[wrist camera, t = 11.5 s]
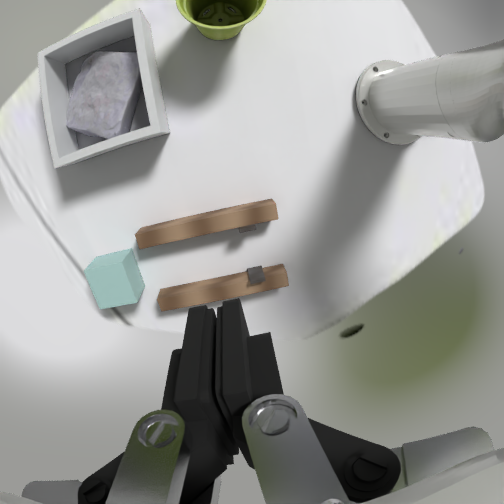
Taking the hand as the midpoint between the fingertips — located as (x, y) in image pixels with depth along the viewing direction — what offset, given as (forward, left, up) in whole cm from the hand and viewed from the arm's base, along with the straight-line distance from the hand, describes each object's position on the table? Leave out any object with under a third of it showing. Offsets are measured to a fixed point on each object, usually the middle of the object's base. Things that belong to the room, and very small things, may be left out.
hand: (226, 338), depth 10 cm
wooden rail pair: (+3, +9, -31) cm, 32 cm away
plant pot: (-4, -22, -31) cm, 38 cm away
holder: (+12, -16, -31) cm, 37 cm away
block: (+17, +8, -31) cm, 36 cm away
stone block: (+12, -16, -31) cm, 37 cm away
